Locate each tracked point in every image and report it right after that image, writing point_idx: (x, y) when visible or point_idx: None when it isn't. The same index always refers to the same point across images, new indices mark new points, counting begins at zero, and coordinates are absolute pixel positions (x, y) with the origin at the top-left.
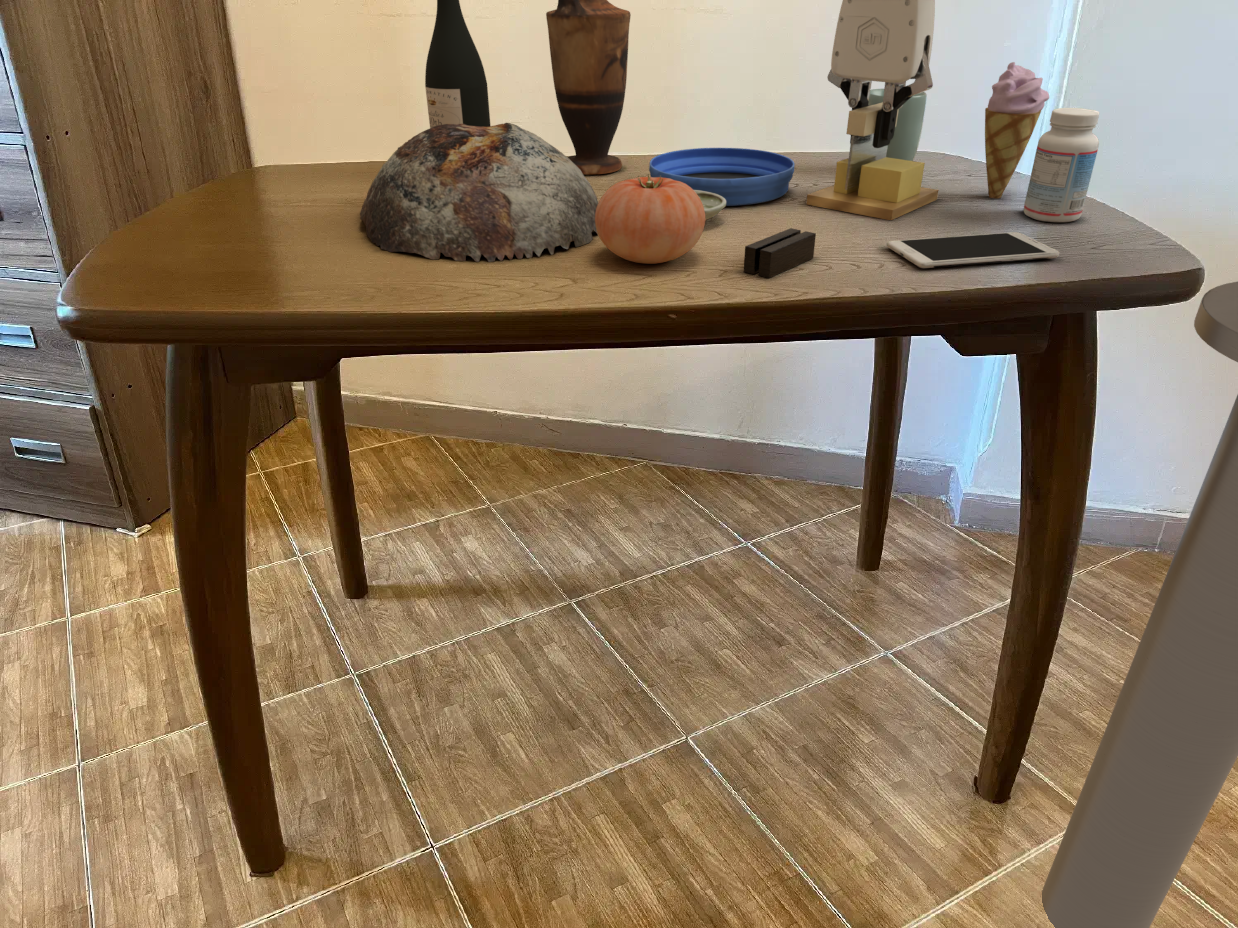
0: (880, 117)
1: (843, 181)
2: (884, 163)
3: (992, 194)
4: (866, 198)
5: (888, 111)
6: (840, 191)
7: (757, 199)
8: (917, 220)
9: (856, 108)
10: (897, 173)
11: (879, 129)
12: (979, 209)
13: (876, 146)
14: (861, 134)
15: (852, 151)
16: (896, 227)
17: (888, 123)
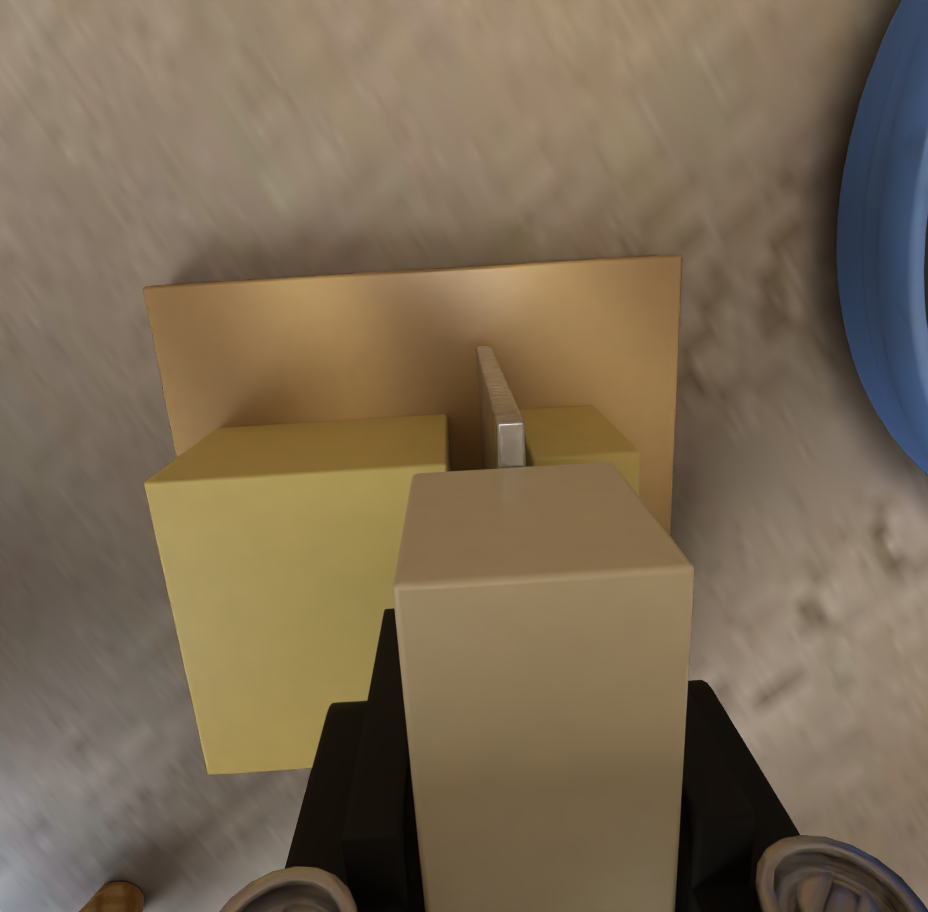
0: (367, 788)
1: (550, 422)
2: (369, 612)
3: (110, 894)
4: (383, 403)
5: (265, 875)
6: (553, 410)
7: (904, 11)
8: (92, 386)
9: (734, 837)
10: (175, 474)
11: (373, 697)
12: (42, 720)
13: (393, 609)
14: (438, 477)
15: (488, 401)
16: (71, 193)
17: (314, 797)
